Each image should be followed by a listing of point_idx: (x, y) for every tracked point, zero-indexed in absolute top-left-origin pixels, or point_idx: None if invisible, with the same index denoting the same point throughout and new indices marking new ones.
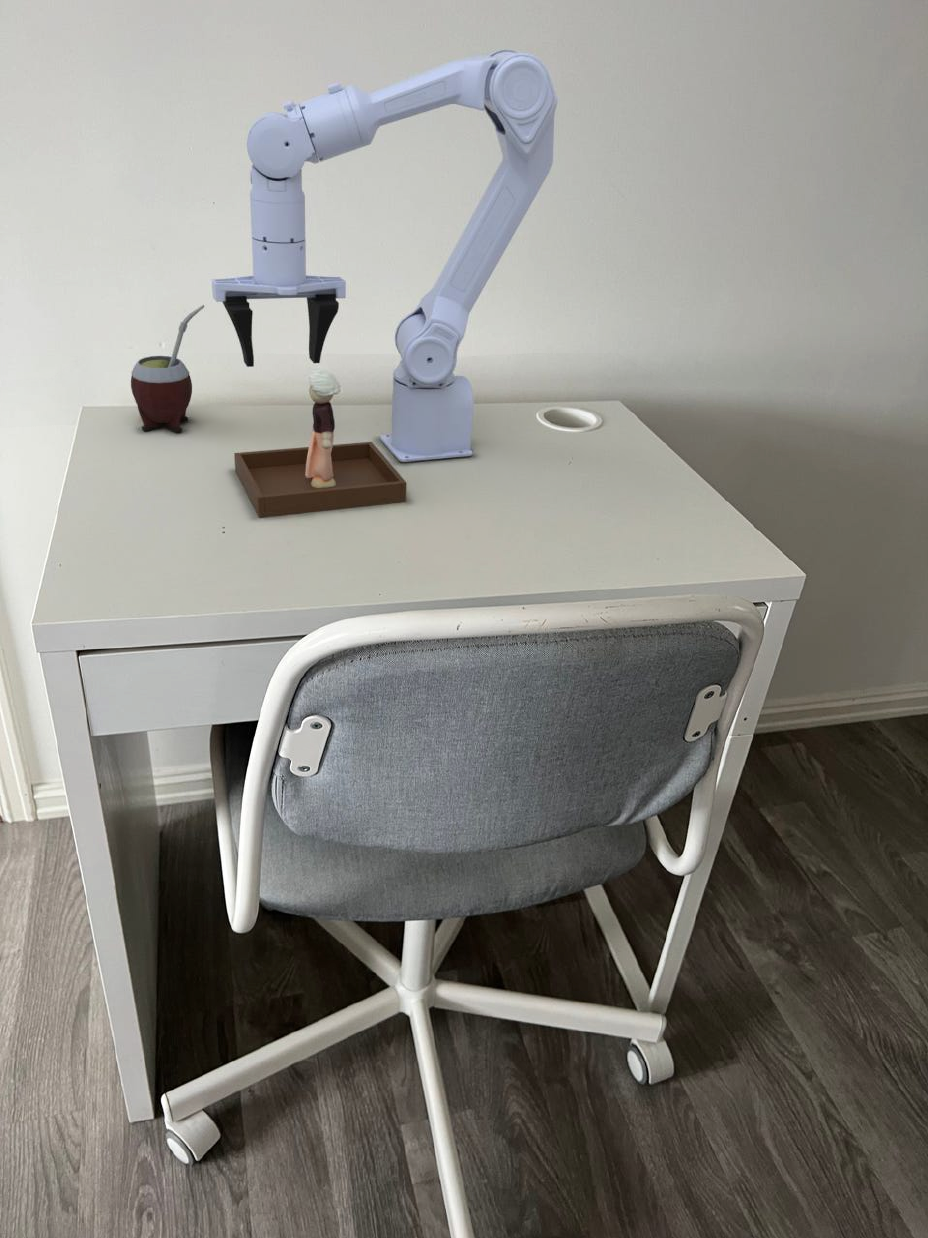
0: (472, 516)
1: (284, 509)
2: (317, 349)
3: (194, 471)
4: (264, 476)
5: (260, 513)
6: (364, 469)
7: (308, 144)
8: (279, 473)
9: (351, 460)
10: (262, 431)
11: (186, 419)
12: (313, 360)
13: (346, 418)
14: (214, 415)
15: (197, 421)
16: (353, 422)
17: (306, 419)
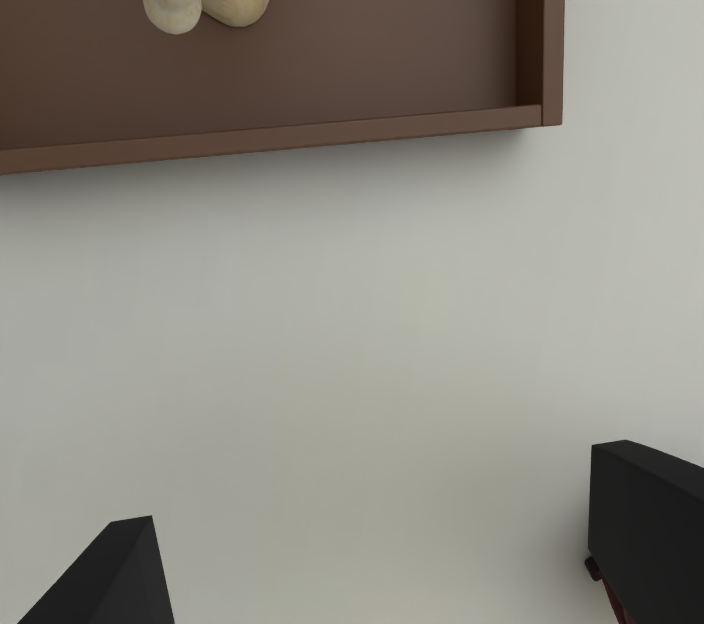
0: None
1: None
2: (94, 576)
3: (651, 153)
4: (446, 17)
5: None
6: (16, 19)
7: None
8: (385, 39)
9: (68, 134)
10: (373, 478)
11: (593, 561)
12: (152, 537)
13: None
14: (500, 606)
15: (558, 560)
16: (26, 552)
17: (205, 578)
